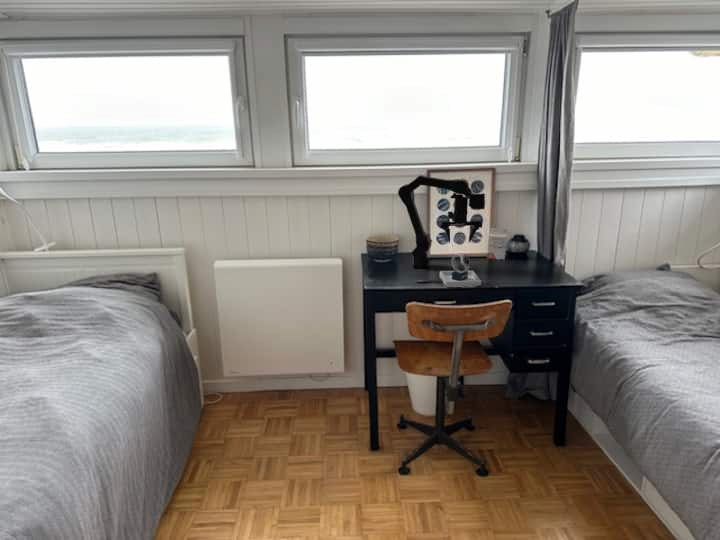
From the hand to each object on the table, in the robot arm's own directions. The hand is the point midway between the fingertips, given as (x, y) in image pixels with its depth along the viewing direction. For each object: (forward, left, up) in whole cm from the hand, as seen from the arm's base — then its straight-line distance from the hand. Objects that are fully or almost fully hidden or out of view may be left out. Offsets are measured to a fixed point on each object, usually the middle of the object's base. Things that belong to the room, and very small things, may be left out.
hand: (459, 242), depth 222 cm
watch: (-3, -17, -12) cm, 21 cm away
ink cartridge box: (+23, +18, -13) cm, 32 cm away
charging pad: (-9, -17, -13) cm, 23 cm away
